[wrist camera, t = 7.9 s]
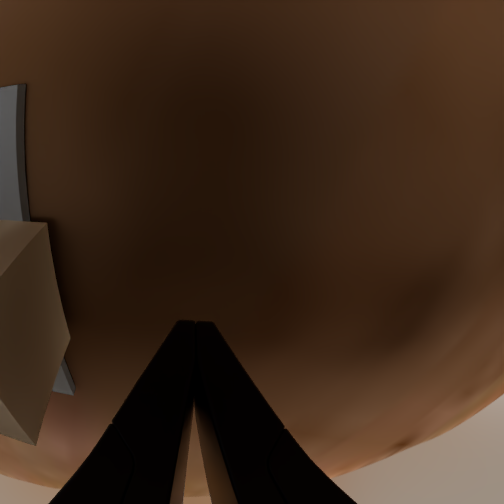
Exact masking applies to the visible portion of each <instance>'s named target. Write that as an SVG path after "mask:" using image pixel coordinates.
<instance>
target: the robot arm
mask: <svg viewBox="0 0 504 504" xmlns="http://www.w3.org/2000/svg"><path fill="white" fill-rule="evenodd" d="M193 407H195V416H196V422H197V428H198V434H199V440H200V446H201V451H202V457H203V462H204V468H205V473H206V478H207V483H208V488H209V493H210V497H211V502H212V504H357V503H356V502H355V501H354V500H353V499H351V498H350V497H349V496H348V495H347V494H346V493H345V492H344V491H343V490H341V489H340V488H339V487H338V486H337V485H336V484H335V483H334V482H333V481H332V480H331V479H330V478H329V477H328V476H327V475H326V474H325V473H324V472H323V471H322V470H321V469H320V468H319V467H318V466H317V465H316V464H315V463H314V462H313V461H312V460H311V459H310V458H309V456H308V455H307V454H306V453H305V452H304V450H303V449H302V448H301V447H300V445H299V444H298V443H297V442H296V440H295V439H294V438H293V436H292V435H291V434H290V432H289V431H288V430H287V429H284V428H285V426H284V425H283V423H282V422H281V420H280V419H279V418H278V416H277V415H276V414H275V412H274V411H273V409H272V408H271V407H270V405H269V404H268V402H267V401H266V400H265V398H264V397H263V395H262V394H261V393H260V391H259V390H258V388H257V387H256V385H255V384H254V383H253V381H252V380H251V378H250V377H249V375H248V374H247V372H246V371H245V369H244V368H243V366H242V365H241V363H240V362H239V361H238V359H237V358H236V356H235V355H234V353H233V351H232V350H231V348H230V347H229V345H228V344H227V342H226V341H225V339H224V338H223V336H222V335H221V333H220V332H219V330H218V328H217V327H216V325H215V324H214V323H213V322H211V321H197V322H196V324H195V321H193V320H178V321H177V322H176V324H175V325H174V327H173V328H172V330H171V331H170V333H169V334H168V336H167V337H166V339H165V340H164V342H163V343H162V345H161V346H160V348H159V349H158V351H157V352H156V354H155V355H154V357H153V358H152V360H151V361H150V363H149V364H148V366H147V367H146V369H145V370H144V372H143V374H142V375H141V377H140V378H139V380H138V381H137V383H136V384H135V386H134V387H133V389H132V390H131V392H130V393H129V395H128V397H127V398H126V400H125V401H124V403H123V404H122V406H121V407H120V409H119V411H118V412H117V414H116V415H115V417H114V418H113V420H112V424H109V426H108V427H107V429H106V431H105V432H104V434H103V435H102V437H101V438H100V440H99V441H98V443H97V444H96V446H95V447H94V449H93V450H92V452H91V453H90V454H89V456H88V457H87V458H86V460H85V461H84V462H83V463H82V465H81V466H80V467H79V468H78V470H77V471H76V472H75V473H74V475H73V476H72V477H71V478H70V479H69V480H68V482H67V483H66V484H65V485H64V486H63V487H62V489H61V490H60V491H59V492H58V493H57V495H56V496H55V497H54V498H53V499H52V500H51V501H50V503H49V504H183V497H184V487H185V477H186V468H187V459H188V450H189V441H190V433H191V425H192V417H193Z"/></svg>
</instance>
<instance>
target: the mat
mask: <svg viewBox="0 0 504 504" xmlns="http://www.w3.org/2000/svg"><path fill="white" fill-rule="evenodd" d="M25 90H26V84H19V85H12V86H7V87H1V88H0V220H12V221H27V222H30V215H29V207H28V198H27V187H26V174H25V155H24V108H25ZM75 389H76V387H75V385H74V382H73V380H72V377H71V375H70V372H69V370H68V367H67V364H66V362H65V359H64V357H63V360H62V362H61V365H60V368H59V371H58V374H57V376H56V379H55V382H54V385H53V388H52V391H54V392H59V393H64V394H69V395H74V392H75Z"/></svg>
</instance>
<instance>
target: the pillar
mask: <svg viewBox="0 0 504 504" xmlns="http://www.w3.org/2000/svg"><path fill="white" fill-rule="evenodd" d="M69 341H70V334H69V330H68V327H67V323H66V319H65V316H64V312H63V307H62V303H61V299H60V295H59V290H58V285H57V281H56V276H55V270H54V265H53V259H52V253H51V247H50V241H49V234H48V226H47V223H43V222H27V221H12V220H0V434H2V435H5V436H8V437H11V438H13V439H16V440H19V441H22V442H25V443H28V444H32V445H35V446H36V444H37V440H38V436H39V432H40V429H41V425H42V421H43V418H44V414H45V411H46V408H47V404H48V401H49V398H50V395H51V392H52V388H53V385H54V382H55V379H56V376H57V374H58V371H59V368H60V365H61V362H62V360H63V357H64V354H65V351H66V349H67V346H68V344H69Z"/></svg>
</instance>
